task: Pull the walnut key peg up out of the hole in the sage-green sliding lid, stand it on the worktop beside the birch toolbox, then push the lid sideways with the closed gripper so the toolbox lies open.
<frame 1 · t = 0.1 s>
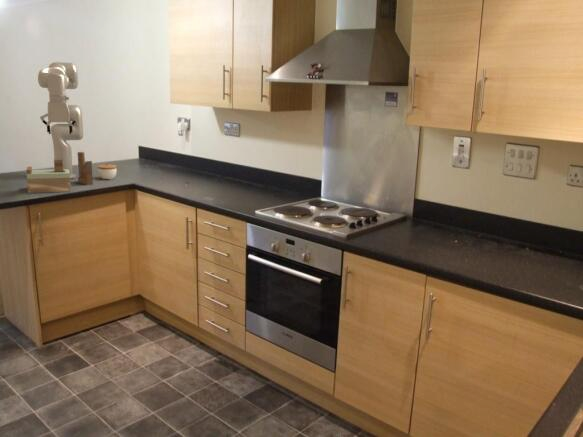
hand: (60, 133, 268), 31 cm above the worktop, tool pointing down, fingers open, 9 cm apart
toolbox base: (50, 191, 280), on the worktop
lidded jar: (107, 179, 318), on the worktop
toolbox lid: (48, 172, 277), point 10 cm above the worktop, slide at 0.0 cm
key peg: (60, 189, 281), point 1 cm above the worktop, touching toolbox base
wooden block: (85, 185, 299), on the worktop
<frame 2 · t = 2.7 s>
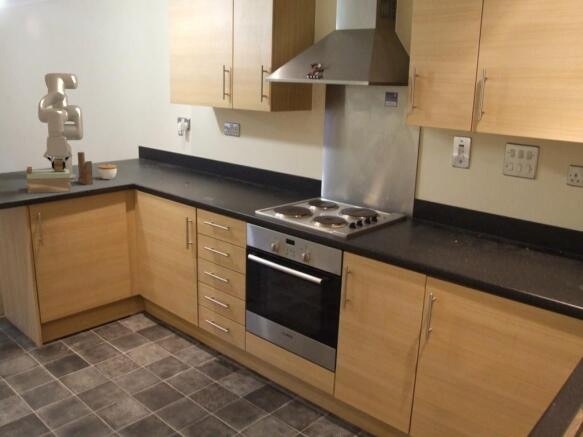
hand: (58, 169, 278), 12 cm above the worktop, tool pointing down, fingers closed on key peg, 4 cm apart
key peg: (60, 189, 281), point 1 cm above the worktop, touching gripper, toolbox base
everything else where it was.
when the fingers open (12 cm above the worktop, at t = 9.9 s): key peg drops 1 cm, on the worktop.
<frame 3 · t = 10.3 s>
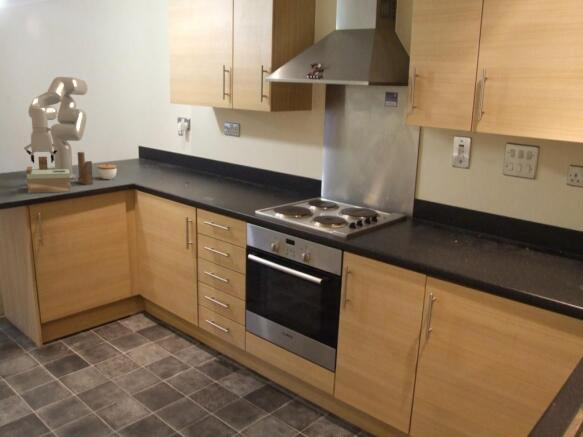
hand: (42, 162, 287), 13 cm above the worktop, tool pointing down, fingers open, 8 cm apart
key peg: (44, 186, 291), on the worktop
everything else where it was.
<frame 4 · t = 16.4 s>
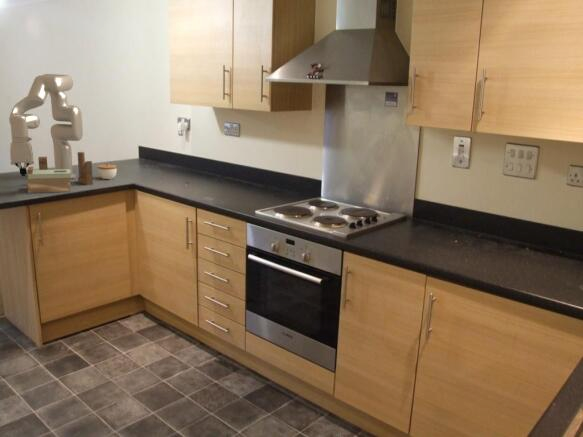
hand: (23, 175, 273), 9 cm above the worktop, tool pointing down, fingers closed
toolbox lid: (49, 172, 277), point 10 cm above the worktop, slide at 0.6 cm, touching gripper
everything else where it was.
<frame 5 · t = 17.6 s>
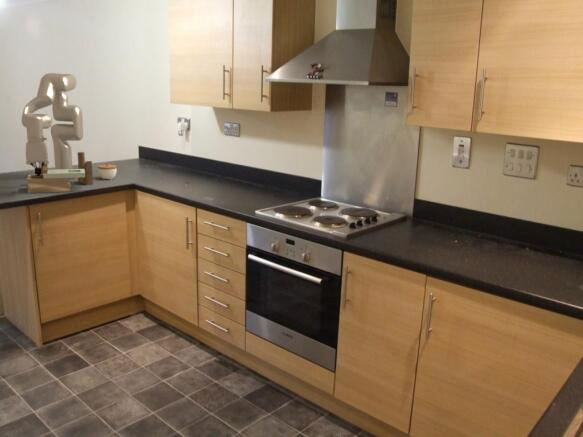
hand: (38, 175, 276), 9 cm above the worktop, tool pointing down, fingers closed
toolbox lid: (64, 171, 280), point 10 cm above the worktop, slide at 7.6 cm, touching gripper
everything else where it was.
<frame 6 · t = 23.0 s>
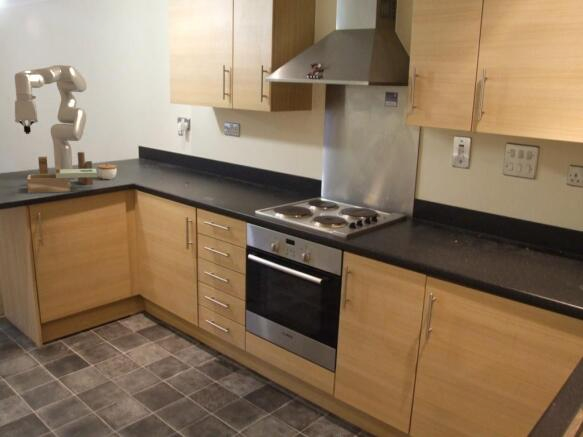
hand: (27, 133, 278), 29 cm above the worktop, tool pointing down, fingers closed
toolbox lid: (76, 171, 282), point 10 cm above the worktop, slide at 13.5 cm
everything else where it was.
at the end: toolbox lid slide at 13.5 cm; key peg moved 16.2 cm from its start; key peg touching worktop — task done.
